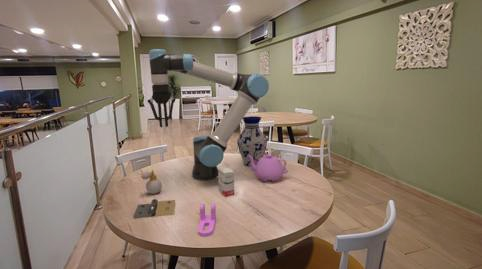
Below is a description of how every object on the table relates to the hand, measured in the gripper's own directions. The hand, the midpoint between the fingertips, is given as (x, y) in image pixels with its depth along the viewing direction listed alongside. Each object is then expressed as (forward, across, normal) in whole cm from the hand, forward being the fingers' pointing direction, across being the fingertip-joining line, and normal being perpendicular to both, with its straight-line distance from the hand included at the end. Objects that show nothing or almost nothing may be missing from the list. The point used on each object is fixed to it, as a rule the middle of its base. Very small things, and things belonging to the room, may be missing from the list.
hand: (164, 133), depth 134 cm
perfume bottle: (+29, +8, +3) cm, 30 cm away
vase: (+30, -51, -29) cm, 65 cm away
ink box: (+29, -27, +12) cm, 41 cm away
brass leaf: (+29, +1, +23) cm, 37 cm away
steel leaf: (+29, +10, +22) cm, 37 cm away
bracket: (+29, -15, +41) cm, 52 cm away
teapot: (+30, -52, -1) cm, 60 cm away
